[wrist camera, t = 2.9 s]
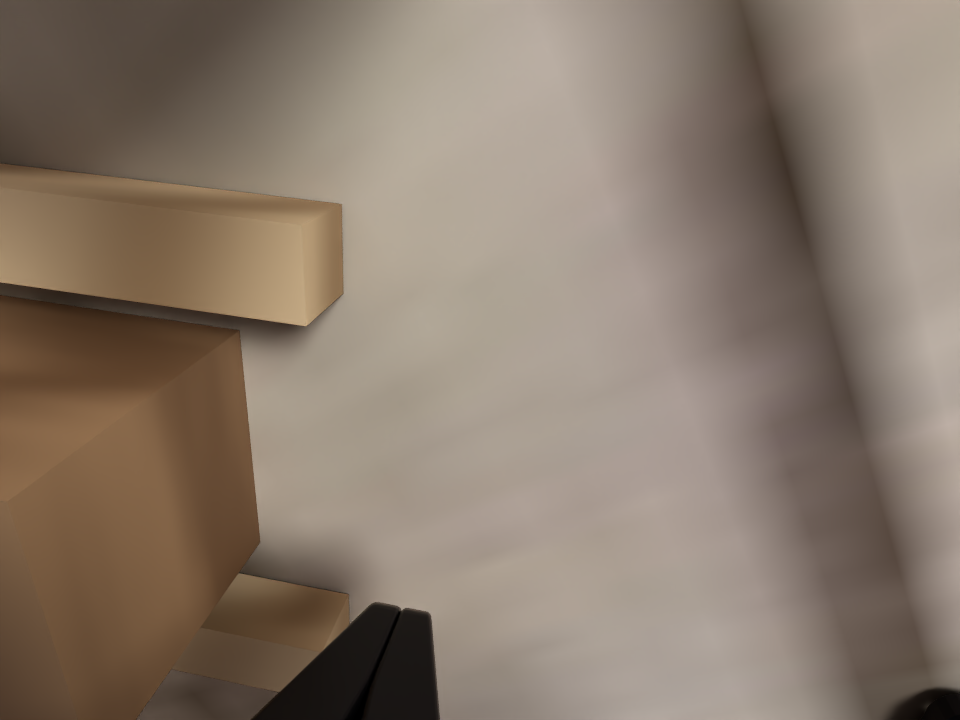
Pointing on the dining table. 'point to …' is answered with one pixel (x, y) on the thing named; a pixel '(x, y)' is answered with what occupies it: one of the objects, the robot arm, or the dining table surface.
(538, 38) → the dining table surface
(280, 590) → the rail slot
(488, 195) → the dining table surface
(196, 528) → the brown cube
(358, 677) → the robot arm
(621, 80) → the dining table surface
